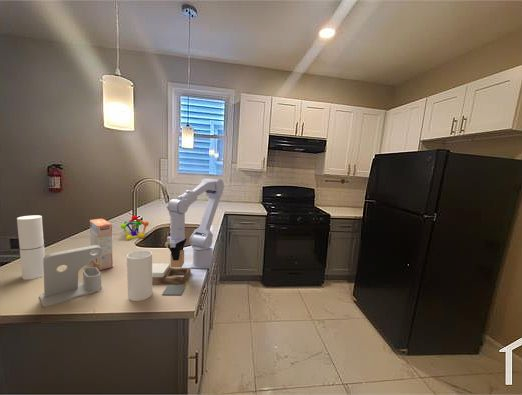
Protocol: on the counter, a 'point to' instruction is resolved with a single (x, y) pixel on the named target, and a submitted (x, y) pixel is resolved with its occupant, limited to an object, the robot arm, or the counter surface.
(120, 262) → the counter surface
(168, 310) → the counter surface
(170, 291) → the pad
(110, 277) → the counter surface
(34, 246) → the cylindrical container
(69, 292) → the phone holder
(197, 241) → the robot arm
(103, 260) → the cracker box
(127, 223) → the educational toy
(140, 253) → the cup
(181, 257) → the block
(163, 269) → the cover
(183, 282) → the wooden grid frame
